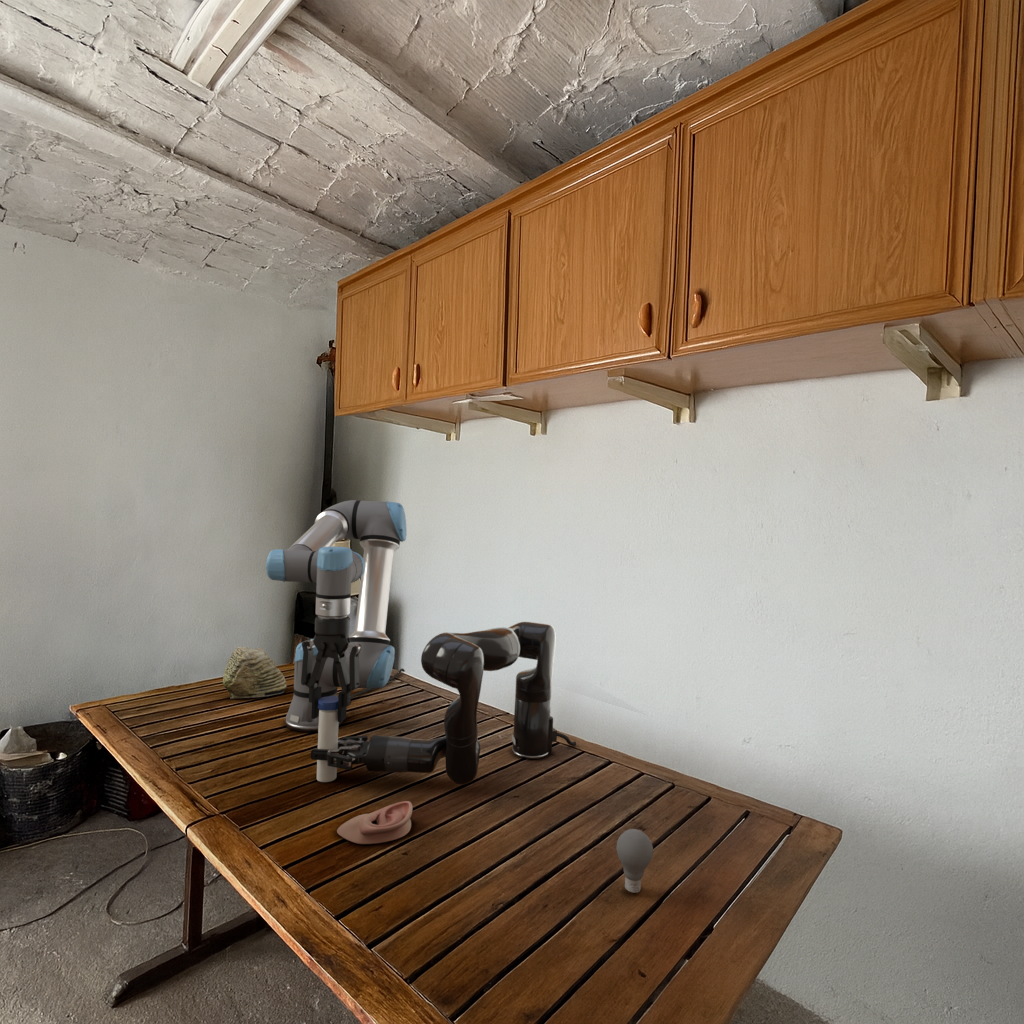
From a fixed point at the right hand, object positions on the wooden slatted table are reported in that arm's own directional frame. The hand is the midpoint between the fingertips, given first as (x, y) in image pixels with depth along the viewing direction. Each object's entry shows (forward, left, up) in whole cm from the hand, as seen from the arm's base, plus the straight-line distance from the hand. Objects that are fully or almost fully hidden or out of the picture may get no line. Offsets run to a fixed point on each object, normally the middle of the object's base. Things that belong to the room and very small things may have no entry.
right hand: (315, 749), depth 143 cm
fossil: (+12, -65, -6) cm, 66 cm away
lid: (-2, +1, +11) cm, 12 cm away
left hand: (-2, +1, +7) cm, 8 cm away
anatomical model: (-9, +27, -6) cm, 29 cm away
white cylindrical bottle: (-2, +1, -6) cm, 7 cm away
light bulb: (-45, +59, -6) cm, 75 cm away
